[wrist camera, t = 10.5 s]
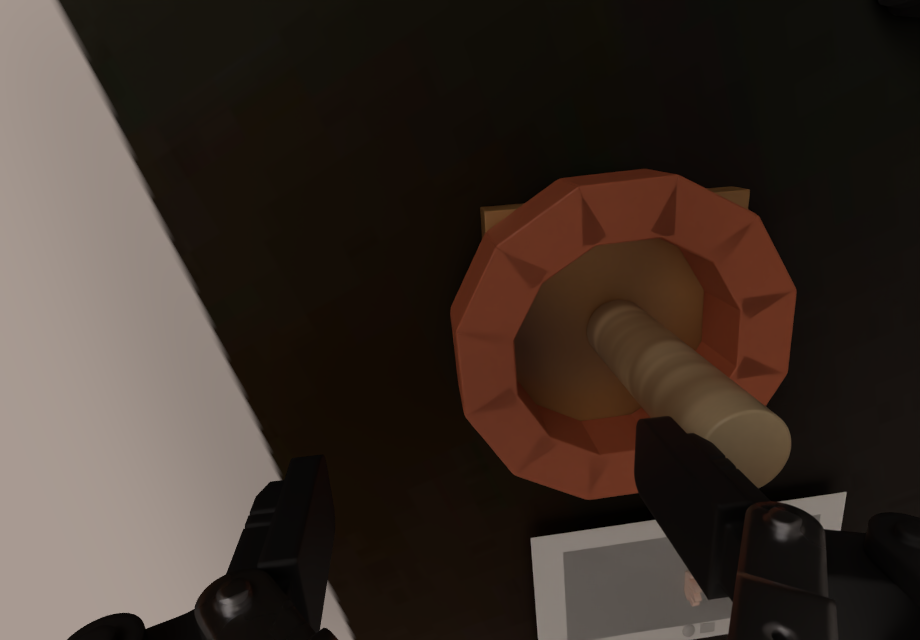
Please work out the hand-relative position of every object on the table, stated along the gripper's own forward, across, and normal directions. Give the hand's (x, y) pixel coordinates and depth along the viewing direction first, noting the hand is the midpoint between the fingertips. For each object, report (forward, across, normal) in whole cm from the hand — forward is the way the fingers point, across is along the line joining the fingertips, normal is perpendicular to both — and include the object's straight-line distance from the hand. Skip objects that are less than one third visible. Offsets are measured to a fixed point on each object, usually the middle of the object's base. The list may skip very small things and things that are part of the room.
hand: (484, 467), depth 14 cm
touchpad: (+10, -10, +14) cm, 20 cm away
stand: (+9, -6, 0) cm, 11 cm away
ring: (+8, -6, 0) cm, 10 cm away
